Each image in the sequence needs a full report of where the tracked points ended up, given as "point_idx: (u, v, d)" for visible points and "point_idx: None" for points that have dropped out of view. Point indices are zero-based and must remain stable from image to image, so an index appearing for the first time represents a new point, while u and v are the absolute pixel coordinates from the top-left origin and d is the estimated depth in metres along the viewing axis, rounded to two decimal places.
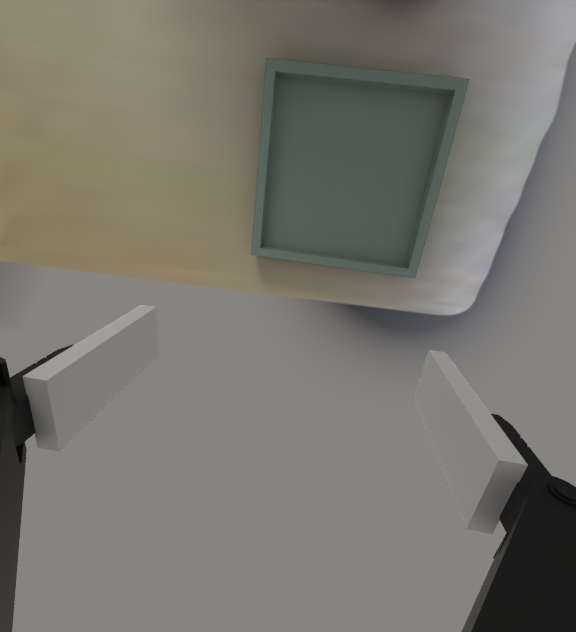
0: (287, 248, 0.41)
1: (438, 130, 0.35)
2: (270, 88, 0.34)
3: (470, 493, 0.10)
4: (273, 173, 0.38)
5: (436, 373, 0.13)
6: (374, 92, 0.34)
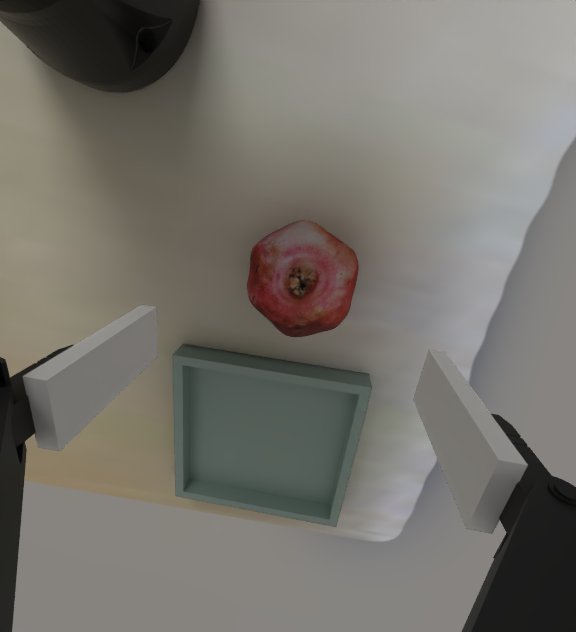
0: (213, 483, 0.41)
1: (350, 408, 0.35)
2: (179, 377, 0.34)
3: (470, 493, 0.10)
4: (193, 426, 0.38)
5: (436, 373, 0.13)
6: None
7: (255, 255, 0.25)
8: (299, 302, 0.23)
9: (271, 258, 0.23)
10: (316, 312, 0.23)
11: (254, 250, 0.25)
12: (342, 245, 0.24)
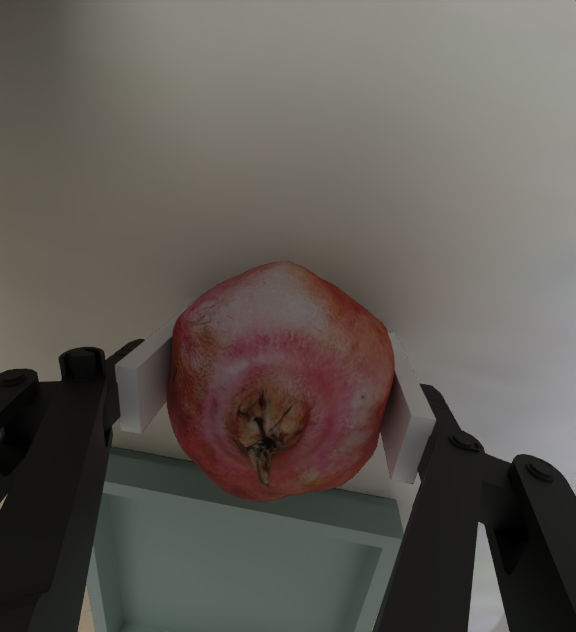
0: (158, 630, 0.28)
1: (365, 550, 0.21)
2: None
3: (395, 449, 0.11)
4: (122, 558, 0.25)
5: None
6: None
7: (174, 341, 0.11)
8: None
9: (200, 360, 0.10)
10: (305, 482, 0.10)
11: (175, 327, 0.12)
12: (363, 321, 0.11)
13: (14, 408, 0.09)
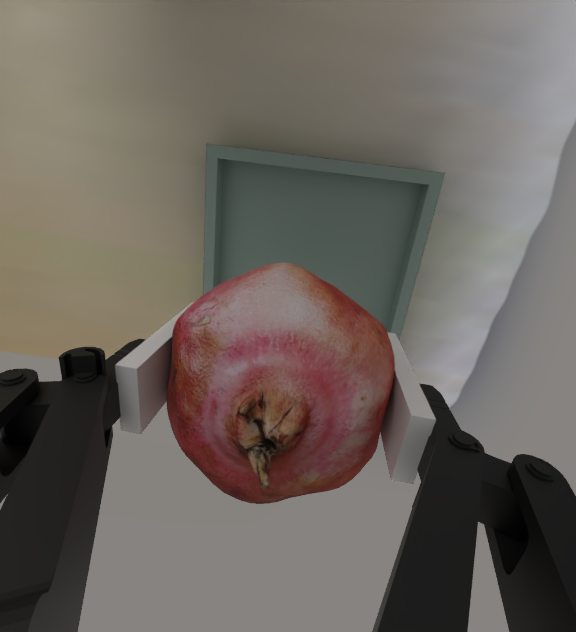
0: None
1: (411, 222, 0.30)
2: (213, 176, 0.29)
3: (395, 449, 0.11)
4: (224, 262, 0.33)
5: None
6: (336, 179, 0.29)
7: (174, 342, 0.11)
8: None
9: (200, 361, 0.10)
10: (305, 483, 0.10)
11: (175, 329, 0.12)
12: (363, 322, 0.11)
13: (14, 408, 0.09)
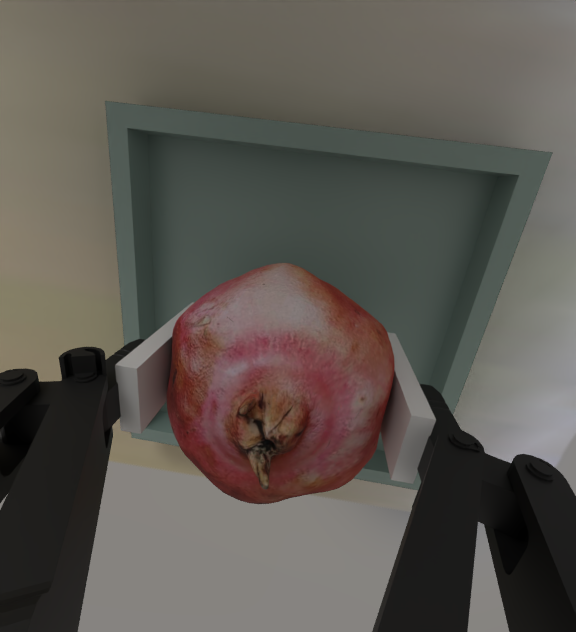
0: None
1: (473, 242, 0.17)
2: (122, 162, 0.16)
3: (395, 449, 0.11)
4: (161, 303, 0.21)
5: None
6: (343, 167, 0.17)
7: (174, 343, 0.11)
8: None
9: (200, 362, 0.10)
10: (304, 484, 0.10)
11: (175, 329, 0.12)
12: (362, 323, 0.11)
13: (14, 408, 0.09)
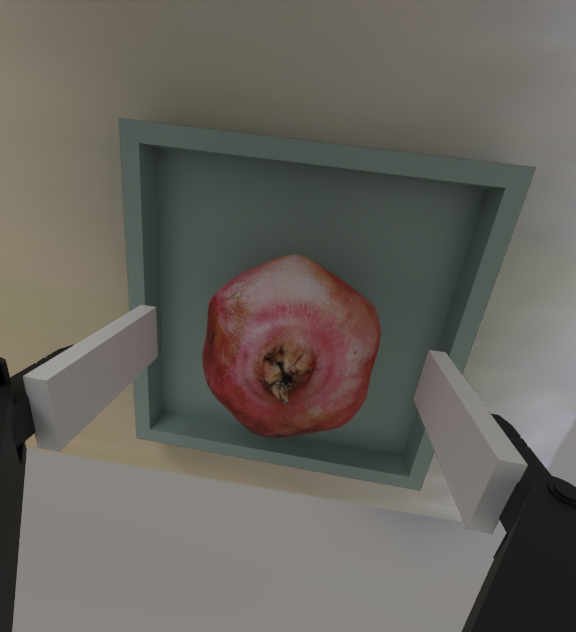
0: (203, 419, 0.24)
1: (465, 250, 0.18)
2: (134, 174, 0.17)
3: (470, 493, 0.10)
4: (167, 307, 0.21)
5: (436, 373, 0.13)
6: (341, 179, 0.18)
7: (212, 313, 0.15)
8: (282, 402, 0.13)
9: (234, 324, 0.14)
10: (311, 417, 0.14)
11: (211, 304, 0.15)
12: (356, 299, 0.15)
13: None
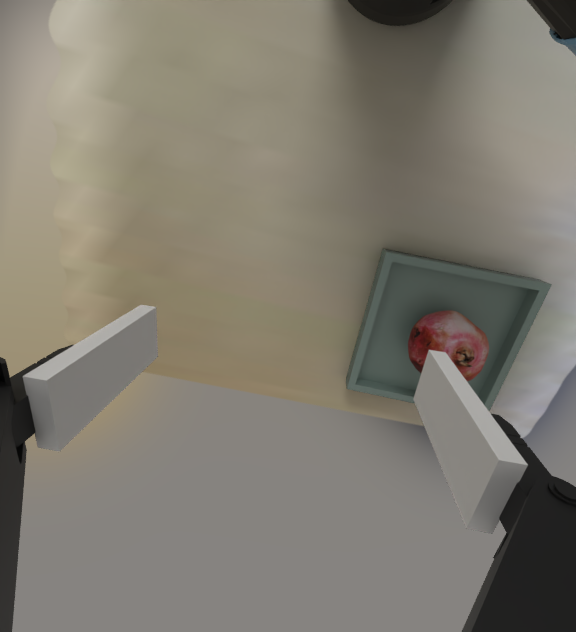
0: (375, 381, 0.48)
1: (518, 309, 0.42)
2: (385, 273, 0.40)
3: (470, 493, 0.10)
4: (373, 326, 0.45)
5: (436, 374, 0.13)
6: (468, 278, 0.41)
7: (426, 334, 0.39)
8: (459, 368, 0.37)
9: (441, 339, 0.37)
10: (467, 374, 0.38)
11: (423, 330, 0.39)
12: (481, 331, 0.39)
13: None
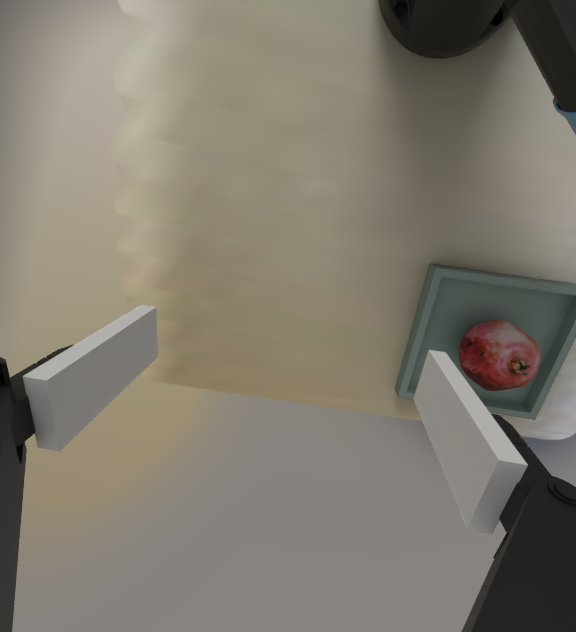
0: None
1: (564, 315, 0.44)
2: (435, 287, 0.43)
3: (470, 493, 0.10)
4: None
5: (436, 374, 0.13)
6: (515, 287, 0.43)
7: (479, 344, 0.41)
8: (514, 375, 0.39)
9: (495, 349, 0.39)
10: (521, 381, 0.39)
11: (476, 340, 0.41)
12: (532, 339, 0.40)
13: None
